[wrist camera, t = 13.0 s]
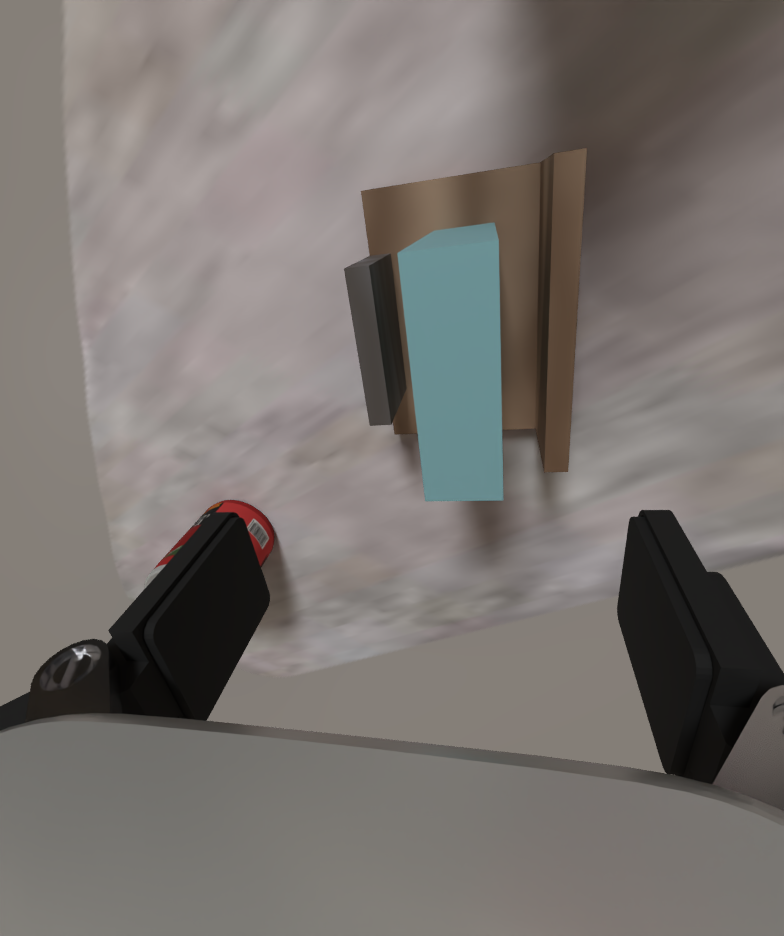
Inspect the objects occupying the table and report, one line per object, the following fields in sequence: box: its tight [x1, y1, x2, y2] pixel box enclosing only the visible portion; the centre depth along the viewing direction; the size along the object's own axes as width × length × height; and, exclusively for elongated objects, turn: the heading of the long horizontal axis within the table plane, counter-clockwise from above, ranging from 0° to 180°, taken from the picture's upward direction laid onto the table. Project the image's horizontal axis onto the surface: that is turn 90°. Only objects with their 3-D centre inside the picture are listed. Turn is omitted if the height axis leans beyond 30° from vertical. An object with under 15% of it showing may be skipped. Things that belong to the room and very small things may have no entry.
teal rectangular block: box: [397, 223, 503, 501], centre depth 28 cm, size 4×12×15 cm, turn 7°
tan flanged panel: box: [344, 148, 587, 472], centre depth 32 cm, size 13×18×8 cm
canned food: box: [144, 500, 274, 589], centre depth 46 cm, size 8×8×11 cm
